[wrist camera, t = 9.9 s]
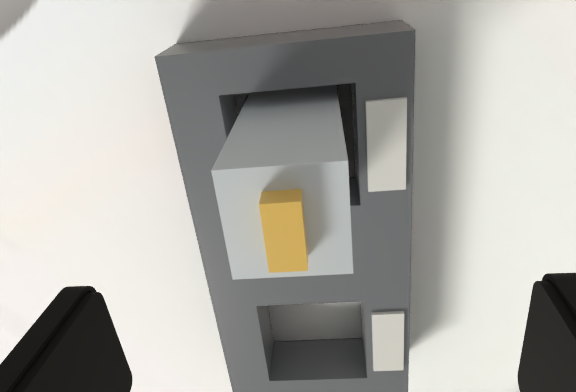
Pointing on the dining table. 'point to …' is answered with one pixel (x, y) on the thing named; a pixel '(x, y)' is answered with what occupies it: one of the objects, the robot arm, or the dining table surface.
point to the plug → (286, 186)
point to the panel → (363, 200)
